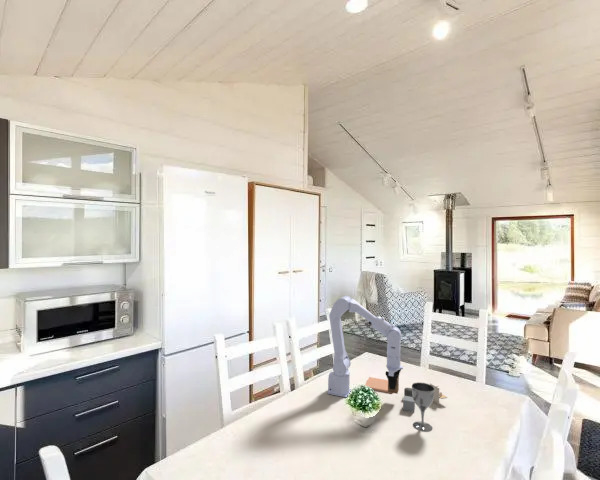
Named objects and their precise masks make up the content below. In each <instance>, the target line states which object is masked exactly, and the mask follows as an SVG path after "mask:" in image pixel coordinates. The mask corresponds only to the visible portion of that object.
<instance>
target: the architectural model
mask: <svg viewBox="0 0 600 480" xmlns="http://www.w3.org/2000/svg"><path fill="white" fill-rule="evenodd" d="M429 385H431V386H433V387H434V398H433V403H436V404H437V405H440V400H445V399H448V396H446V395H444V394H443V392H441V391H440V388H439V385H434V384H433V383H429Z"/></svg>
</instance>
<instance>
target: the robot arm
mask: <svg viewBox="0 0 600 480" xmlns="http://www.w3.org/2000/svg"><path fill="white" fill-rule="evenodd" d="M347 311H348V313H357V314H358V315H359V316H360V317H361V318H362V317H363V318H364V319H365V320H367V321H368V322H369V323H371V326H372V328H373V329H374V330H376V331H377V332H379V333H380V335H383V336H385V339H386V340H387V345H386V366H385V367H386V369H387V371H385V376H386V378H387V380H388V382H389V387H390V389H394V390H395V387H396V382H397V378H398V377H399V378H400V373H401V370H404V366H402V365H401V356H402V355H401V350H402V349H401V348H402V347H401V338H402V337H401V336H402V332H401V329H400V328H399V327H398V326H396V325H394V324H391V323H390V322H388V321H387V320H385V317H384V316H382V317H381V316H376V315H374V314H373V313H371V312H370V310H368V309H367V308H365V307H364V306H363V305H362V304H360V303H359V302H358V301H357V300H356V299H354V298H352V297H351V296H349V295H342V296H341V297H340V298H338V299H337V300H336V301H335V302H334V303H333V305H332V307H331V309H330V312H329V314H328V315H329V322H330V323H329V324H330V330H331V338H332V344H333V351H334V354H333V365H332V371H330V372H329V374H328V377H327V381H328V382H327V385H328V386H327V394H328V395H333V396H337V397H341V398H348V397H347V395H348V394H349V393H350V391H351V390H352V389H350V383H351V382H350V378H351V377H350V376H351V375H350V374H351V372H350V371H349V368H350V367H351V365H352V364H351V360H350V358H349V356H348V352H347V350H346V346H345V339H344V332H343V325H342V316H343V315H344V314H345V313H346V312H347ZM350 394H351V393H350Z"/></svg>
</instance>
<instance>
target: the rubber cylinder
mask: <svg viewBox="0 0 600 480" xmlns="http://www.w3.org/2000/svg"><path fill="white" fill-rule="evenodd" d="M403 391H404V392H403V393H404V394H403V395H404V396H409V397H413V396H412V387H405V388H404V390H403ZM404 396H403V397H404Z"/></svg>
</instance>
